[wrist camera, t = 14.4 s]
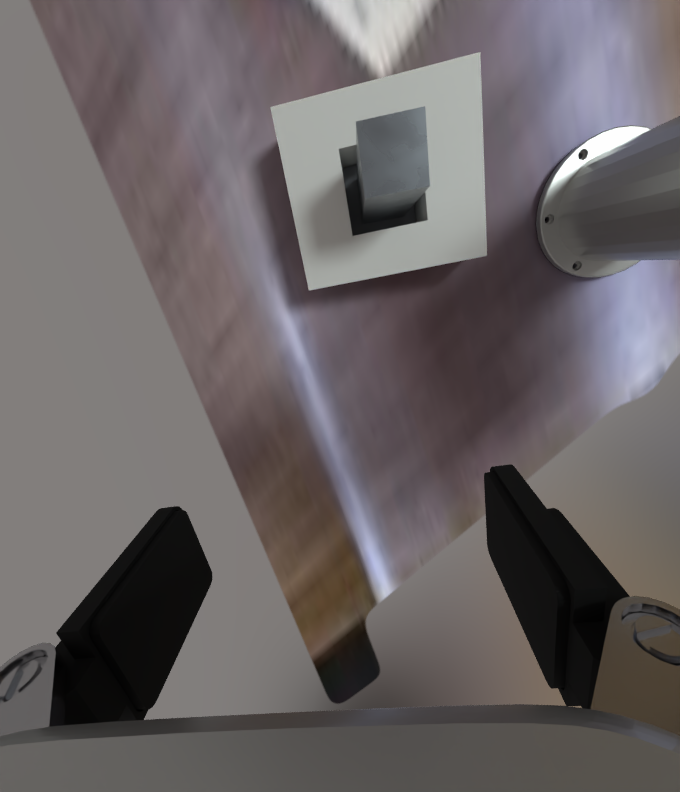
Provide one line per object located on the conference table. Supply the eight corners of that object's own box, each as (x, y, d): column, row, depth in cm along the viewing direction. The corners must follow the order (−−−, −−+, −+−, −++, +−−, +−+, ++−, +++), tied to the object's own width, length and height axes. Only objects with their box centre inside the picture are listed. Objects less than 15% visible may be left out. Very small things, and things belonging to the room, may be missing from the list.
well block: (457, 91, 30) (480, 51, 25) (466, 257, 35) (486, 255, 30) (285, 134, 32) (270, 107, 27) (316, 286, 37) (308, 290, 31)
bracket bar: (398, 170, 32) (425, 106, 19) (402, 216, 34) (430, 186, 21) (357, 178, 33) (355, 121, 20) (362, 224, 34) (364, 198, 21)
